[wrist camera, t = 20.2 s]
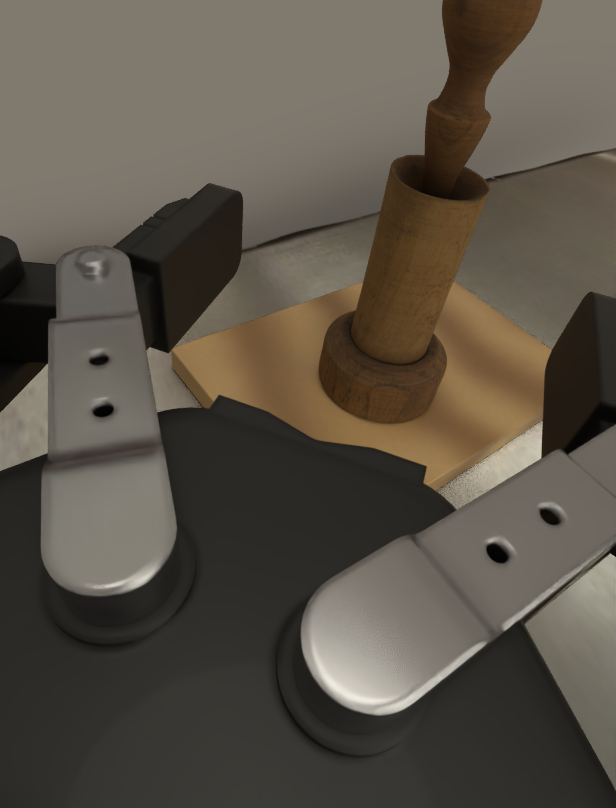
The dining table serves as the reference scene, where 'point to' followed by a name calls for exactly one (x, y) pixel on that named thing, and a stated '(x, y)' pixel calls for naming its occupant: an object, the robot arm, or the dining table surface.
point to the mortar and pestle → (423, 230)
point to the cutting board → (327, 421)
